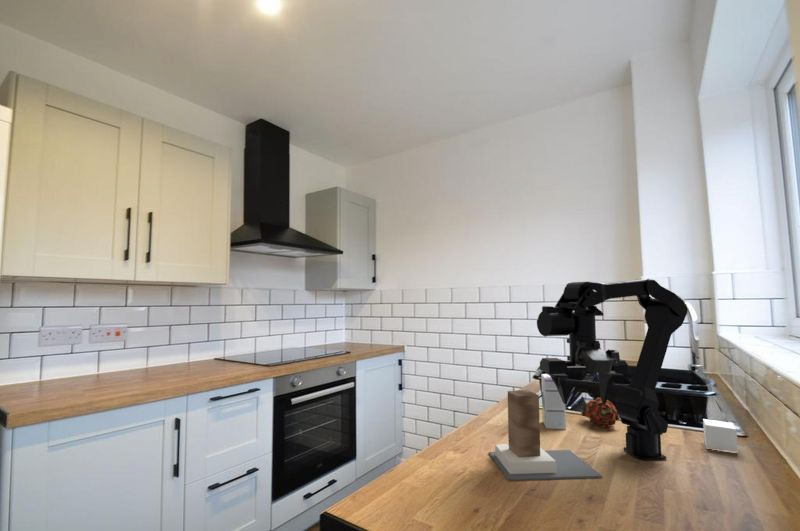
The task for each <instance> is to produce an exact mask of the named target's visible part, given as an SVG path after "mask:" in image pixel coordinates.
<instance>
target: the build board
mask: <svg viewBox="0 0 800 531" xmlns="http://www.w3.org/2000/svg"><path fill="white" fill-rule="evenodd" d="M494 446H495V448H494V451H488V455H489V456H490V457H491V459H492V461H494V463H495V464H496V465H497V467H498V468H499V470H500V471H501V473H502V474H503V476H505V478H506V479H507V480H508V481H536V480H537V481H538V480H539V481H540V480H542V481H543V480H569V479H571V480H573V479H576V480H577V479H598V478H599V479H602V478H603V475H602V474H601V473H600V472H599V471H597V470H596V469H595V468H593V467H592V466H591V465H590V464H588V463H587V462H586V461H585V460H583V459H582V458H581V457H579V456H578V455H576V453H574V452H573V451H571V449H557V450H556V449H555V450H554V449H553V450H552V449H551V450H544V449H543V448H542V447H541V446H540V456H533V457H521V458H519V457H518V456H517V455H515V454H514V453H513V452H512V451H511V450H509V443H508V444H507V443H505V444H494Z"/></svg>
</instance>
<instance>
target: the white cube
mask: <svg viewBox="0 0 800 531" xmlns="http://www.w3.org/2000/svg"><path fill="white" fill-rule="evenodd" d="M702 420H703V421H702V426H703V441H705V443H704V445H706V446H705V449H706V448H709V449H719V450H730V451H737V452H738V453H739V451H738V450H739V449H738V431H737V428H736V426H735V425H734V423H733V422H729V421H722V420H721V421H720V420H717V419H715V420H713V419H706V418H702Z"/></svg>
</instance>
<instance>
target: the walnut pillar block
mask: <svg viewBox="0 0 800 531" xmlns="http://www.w3.org/2000/svg"><path fill="white" fill-rule="evenodd" d="M507 420H508V421H507V423H508V424H507V425H508V426H507V427H508V428H507V432H508V444H509V450H511V451H512V452H513V453H514V454H515V455H517V456H518V457H519V458H521V457H533V456H540V447H541V432H540V429H541V428H540V395H539V394H537V393H534V392H532V391H531V390H529V389H521V390H507Z"/></svg>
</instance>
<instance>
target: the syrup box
mask: <svg viewBox="0 0 800 531" xmlns="http://www.w3.org/2000/svg"><path fill="white" fill-rule="evenodd" d="M540 376H541V377H540V378H541V379H540V380H541V398H542V399H541V401H542V402H541V405H542V406H541V408H542V423H543V425H544V427H545V428H546V429H549V430H550V429H551V430H552V429H553V430H567V420H566V416H567V415H566V404H564V403H563V401H562V399H561V396H560V394H559V392H558V390H557V387H556V385H555V383H554V381H553V380H552V378H551V376H550V375H548V374H546V373H541V374H540Z"/></svg>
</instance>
